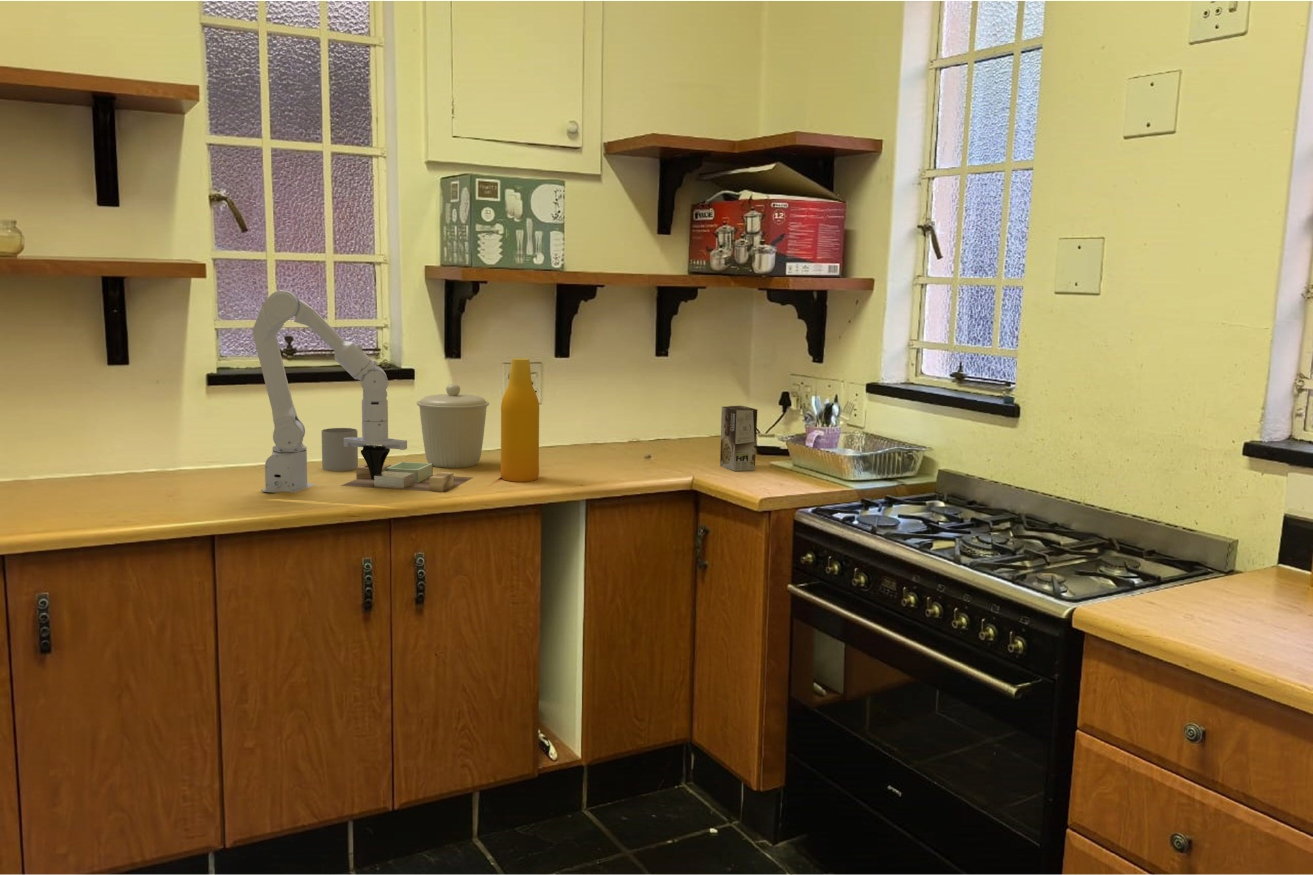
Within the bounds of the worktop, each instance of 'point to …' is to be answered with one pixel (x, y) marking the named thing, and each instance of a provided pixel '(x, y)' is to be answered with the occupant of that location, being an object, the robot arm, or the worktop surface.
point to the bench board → (433, 483)
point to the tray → (413, 469)
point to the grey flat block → (393, 479)
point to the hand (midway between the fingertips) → (375, 479)
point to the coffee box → (738, 438)
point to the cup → (338, 450)
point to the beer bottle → (520, 426)
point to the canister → (453, 428)
